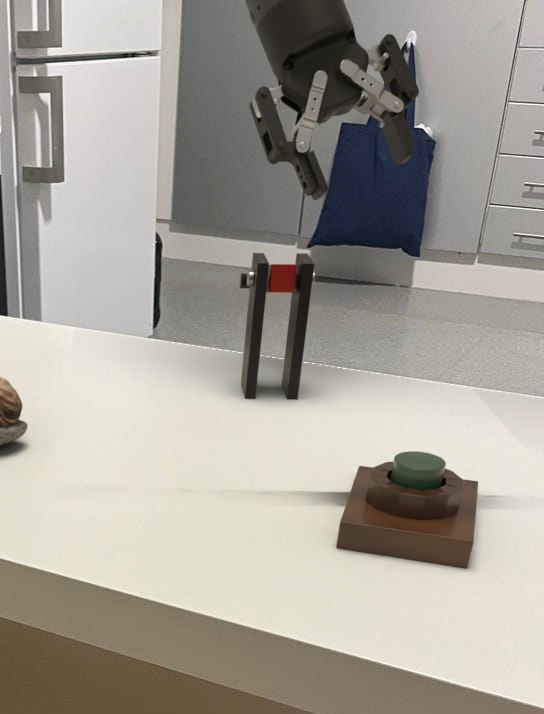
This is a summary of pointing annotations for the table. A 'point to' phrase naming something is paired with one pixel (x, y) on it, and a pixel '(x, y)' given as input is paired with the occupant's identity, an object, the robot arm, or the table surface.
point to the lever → (276, 278)
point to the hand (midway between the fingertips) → (363, 178)
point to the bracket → (295, 327)
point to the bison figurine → (10, 413)
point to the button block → (410, 518)
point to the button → (418, 470)
